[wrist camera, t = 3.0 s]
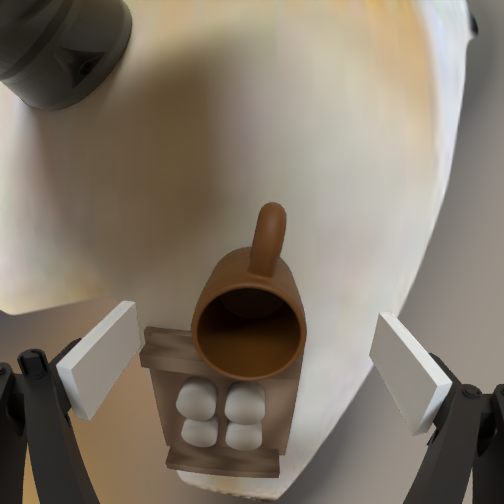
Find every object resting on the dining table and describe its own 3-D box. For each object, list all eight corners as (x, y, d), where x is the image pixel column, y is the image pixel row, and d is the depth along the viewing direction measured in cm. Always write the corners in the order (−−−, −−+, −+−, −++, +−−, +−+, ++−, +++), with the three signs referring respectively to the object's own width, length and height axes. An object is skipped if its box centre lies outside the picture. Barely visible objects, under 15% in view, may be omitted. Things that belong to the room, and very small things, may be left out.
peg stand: (168, 440, 33) (160, 466, 28) (147, 326, 28) (129, 352, 23) (284, 449, 33) (286, 477, 28) (303, 336, 28) (311, 366, 23)
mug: (227, 187, 25) (208, 192, 16) (313, 205, 25) (344, 221, 16) (205, 313, 28) (183, 371, 18) (282, 327, 28) (291, 390, 19)
